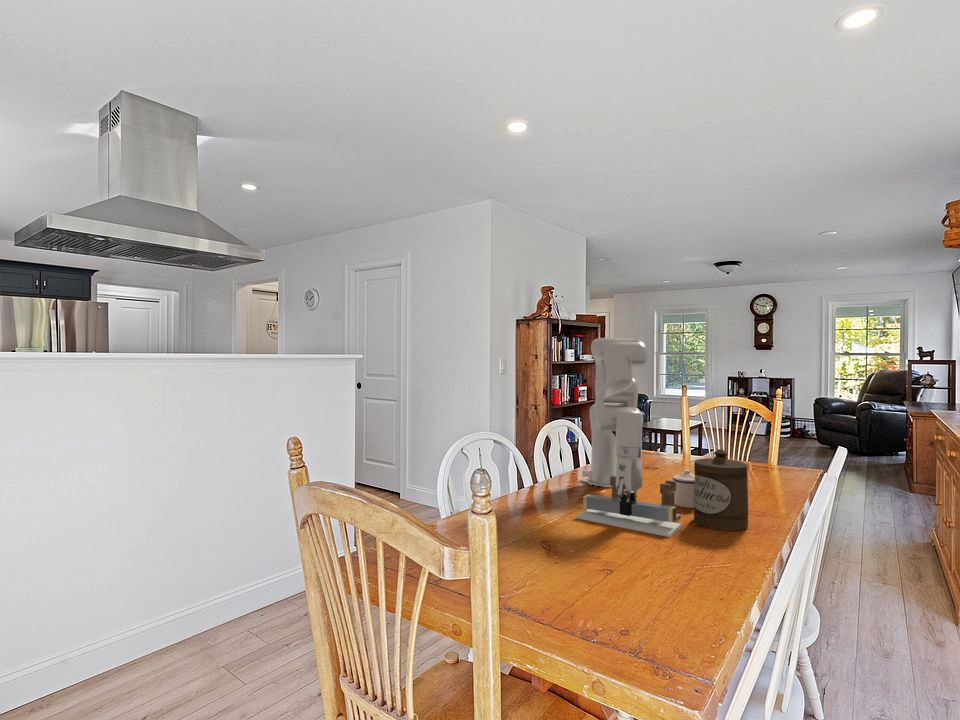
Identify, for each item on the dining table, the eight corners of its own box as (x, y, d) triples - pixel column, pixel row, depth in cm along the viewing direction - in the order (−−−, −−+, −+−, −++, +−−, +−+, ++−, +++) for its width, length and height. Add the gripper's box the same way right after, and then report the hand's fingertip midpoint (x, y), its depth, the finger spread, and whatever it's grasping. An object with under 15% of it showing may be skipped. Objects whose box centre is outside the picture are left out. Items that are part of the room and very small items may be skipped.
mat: (576, 518, 164) (576, 515, 164) (592, 510, 173) (592, 507, 173) (669, 537, 148) (669, 533, 148) (681, 527, 157) (681, 523, 157)
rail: (583, 508, 167) (583, 496, 167) (588, 505, 170) (588, 494, 170) (672, 522, 151) (672, 509, 151) (676, 519, 154) (676, 506, 154)
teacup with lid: (699, 510, 175) (699, 474, 175) (670, 506, 179) (670, 471, 179) (703, 501, 185) (704, 467, 185) (676, 498, 190) (676, 465, 190)
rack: (605, 509, 174) (605, 475, 174) (612, 505, 179) (613, 472, 179) (674, 522, 161) (675, 485, 161) (680, 517, 166) (681, 482, 166)
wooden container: (682, 519, 165) (683, 447, 165) (717, 513, 171) (718, 444, 171) (723, 533, 151) (724, 455, 151) (759, 527, 158) (760, 452, 157)
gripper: (630, 457, 152) (629, 522, 152) (650, 449, 165) (649, 509, 165) (605, 454, 156) (604, 517, 156) (626, 446, 169) (626, 505, 169)
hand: (627, 512), depth 161 cm, fingers closed on rail, 3 cm apart
